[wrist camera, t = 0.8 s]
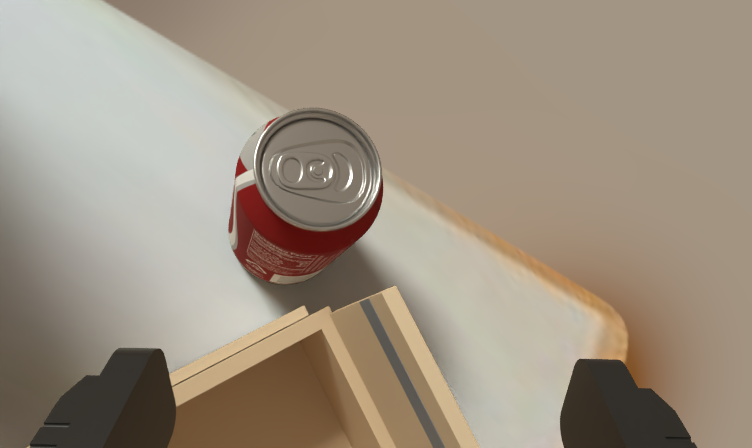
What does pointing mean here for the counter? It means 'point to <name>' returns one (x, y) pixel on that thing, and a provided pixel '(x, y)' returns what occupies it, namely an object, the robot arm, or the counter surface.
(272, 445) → the carton
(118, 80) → the counter surface
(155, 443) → the robot arm
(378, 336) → the flap
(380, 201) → the soda can
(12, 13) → the counter surface
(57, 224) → the counter surface
